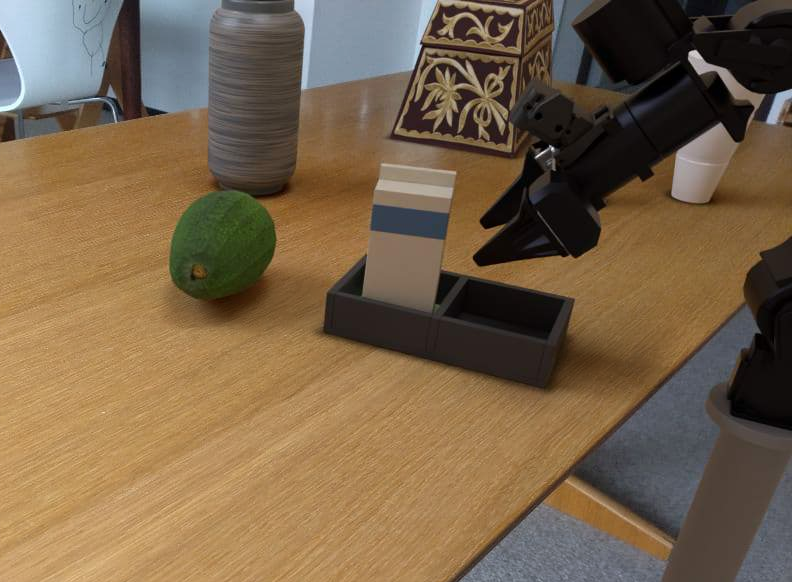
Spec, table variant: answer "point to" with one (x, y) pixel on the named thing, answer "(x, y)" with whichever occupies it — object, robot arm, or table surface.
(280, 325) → the table surface
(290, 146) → the vase
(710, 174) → the cup
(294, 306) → the table surface
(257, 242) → the fruit
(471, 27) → the decorative box
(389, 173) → the milk carton
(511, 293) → the tray
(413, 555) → the table surface
